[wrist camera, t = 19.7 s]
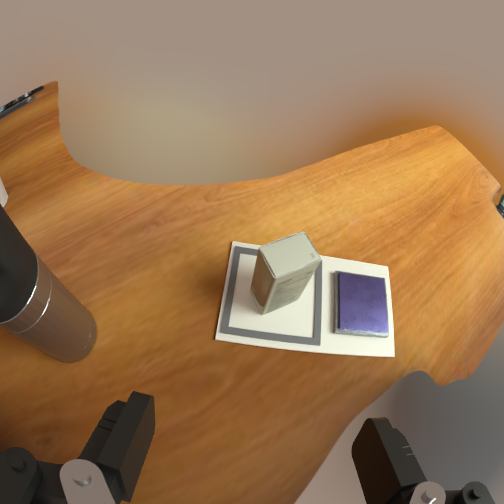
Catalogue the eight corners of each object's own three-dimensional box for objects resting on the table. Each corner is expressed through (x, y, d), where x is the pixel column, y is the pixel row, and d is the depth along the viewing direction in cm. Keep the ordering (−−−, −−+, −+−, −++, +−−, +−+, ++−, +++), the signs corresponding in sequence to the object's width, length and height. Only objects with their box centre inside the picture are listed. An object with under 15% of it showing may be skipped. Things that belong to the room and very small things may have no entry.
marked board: (215, 339, 39) (215, 338, 39) (232, 242, 48) (232, 240, 47) (393, 357, 40) (395, 356, 39) (386, 267, 48) (388, 265, 48)
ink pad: (333, 333, 41) (336, 330, 40) (333, 273, 46) (336, 268, 45) (386, 337, 41) (390, 335, 40) (382, 280, 46) (386, 276, 45)
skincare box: (285, 276, 45) (306, 228, 35) (298, 300, 43) (325, 258, 33) (246, 291, 43) (257, 245, 33) (259, 317, 41) (275, 278, 31)
